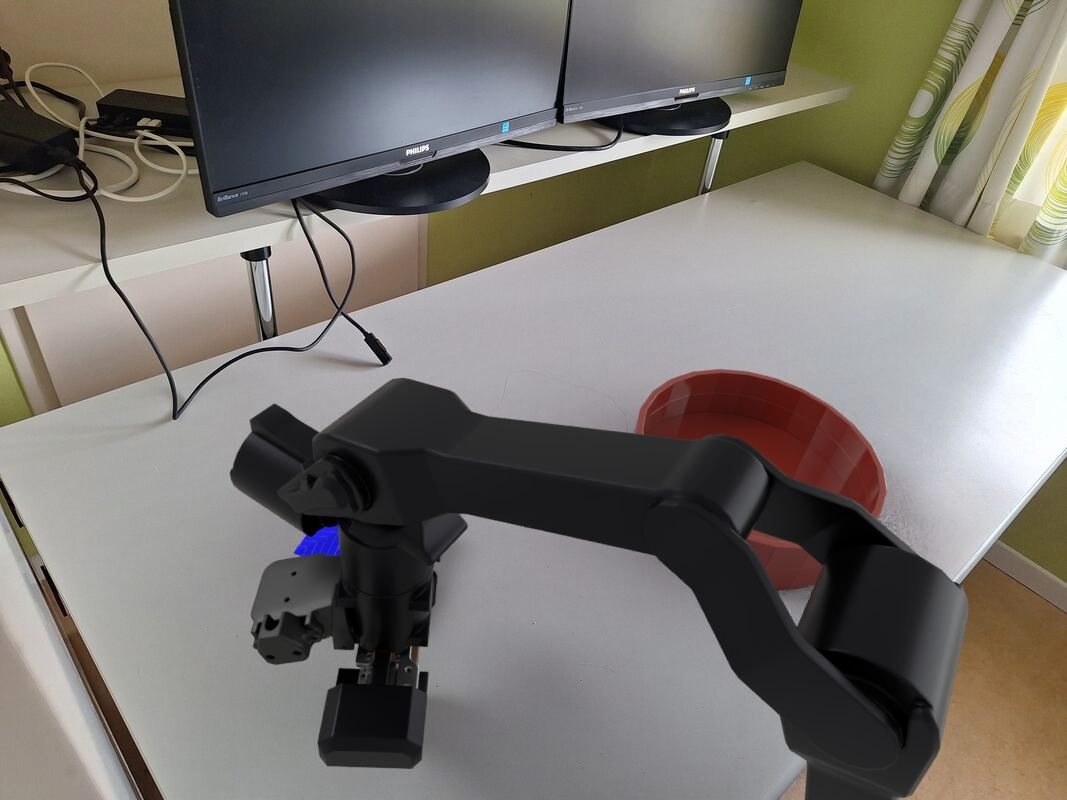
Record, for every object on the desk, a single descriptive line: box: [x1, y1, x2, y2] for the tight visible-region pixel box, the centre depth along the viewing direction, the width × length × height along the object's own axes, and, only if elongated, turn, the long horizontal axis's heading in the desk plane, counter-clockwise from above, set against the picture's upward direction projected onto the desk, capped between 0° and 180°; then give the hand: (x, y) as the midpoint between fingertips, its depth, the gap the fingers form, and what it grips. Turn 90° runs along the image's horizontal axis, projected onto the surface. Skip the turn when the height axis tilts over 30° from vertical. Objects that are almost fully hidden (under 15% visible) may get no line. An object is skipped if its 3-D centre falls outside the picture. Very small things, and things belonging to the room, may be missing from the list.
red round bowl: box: [633, 368, 888, 591], centre depth 80 cm, size 25×25×6 cm
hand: (390, 683), depth 58 cm, fingers closed on block, 4 cm apart
